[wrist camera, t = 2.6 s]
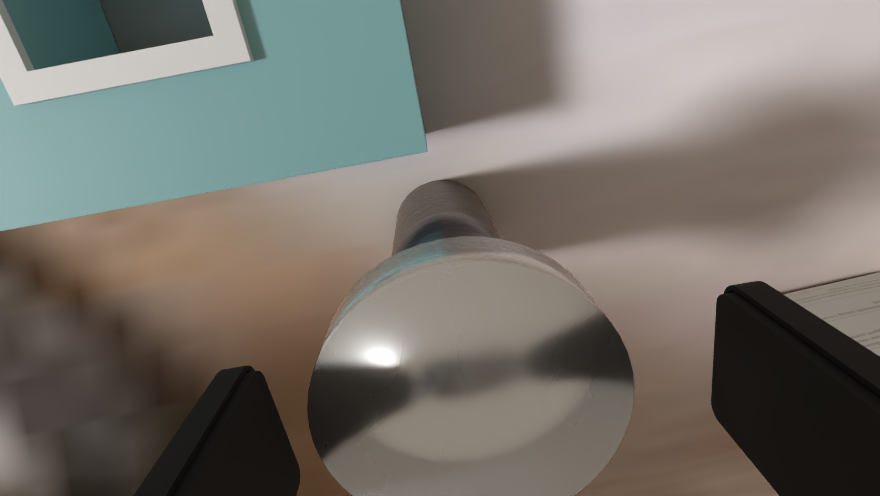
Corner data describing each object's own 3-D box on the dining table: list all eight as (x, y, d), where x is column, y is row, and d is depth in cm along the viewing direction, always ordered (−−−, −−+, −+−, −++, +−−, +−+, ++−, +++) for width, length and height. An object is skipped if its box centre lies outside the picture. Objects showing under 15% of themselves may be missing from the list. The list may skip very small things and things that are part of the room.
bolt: (521, 277, 21) (637, 504, 10) (386, 301, 21) (353, 552, 10) (504, 139, 19) (630, 235, 8) (353, 167, 19) (263, 301, 8)
